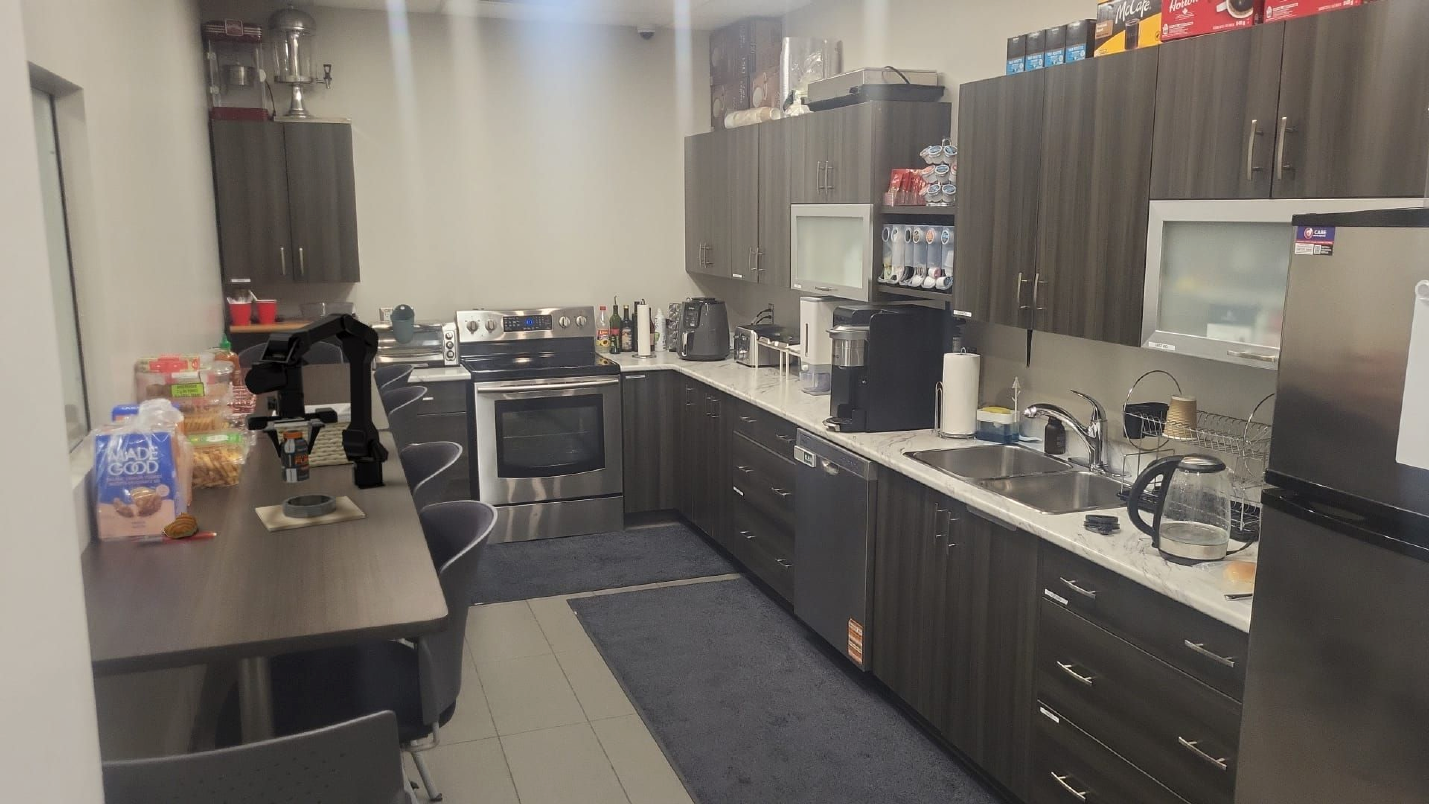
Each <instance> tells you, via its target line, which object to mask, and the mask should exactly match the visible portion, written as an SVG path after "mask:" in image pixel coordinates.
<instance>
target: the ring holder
mask: <svg viewBox="0 0 1429 804" xmlns="http://www.w3.org/2000/svg"><path fill="white" fill-rule="evenodd" d="M255 513H256V514H257V516H258V517H259V518H260V520H261V521H262V523H263V525H264V526H265V527H266V529H267V531H268V532H269V533H270V532H276V531H283V530H290V529H298V528H304V527H312V526H318V525H320V526H321V525H324V524H327V525H328V524H332V523H339V522H346V521H348V522H349V521H353V520H354V521H355V520H361V519H366V514H365V512H363V511H362V509H360V508H359V507H358V506H357V505H356V504H355V503H354V502H353V501H352V500H351V499H350V498H349V497H348V496H347V495H345V496H337V497H335V496H334V495H330V494H326V493H310V494H308V493H307V494H302V495H295V496H293V497H288V498H286V499H285V500H283V501H282V502H281V504H277V505H276V504H275V505H269V506H260V507H255Z"/></svg>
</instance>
